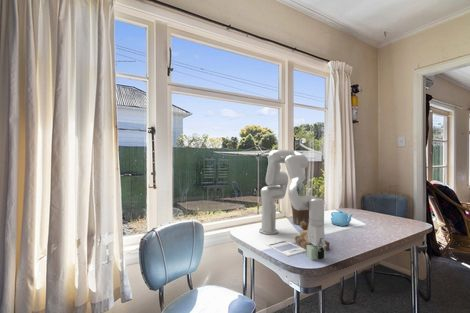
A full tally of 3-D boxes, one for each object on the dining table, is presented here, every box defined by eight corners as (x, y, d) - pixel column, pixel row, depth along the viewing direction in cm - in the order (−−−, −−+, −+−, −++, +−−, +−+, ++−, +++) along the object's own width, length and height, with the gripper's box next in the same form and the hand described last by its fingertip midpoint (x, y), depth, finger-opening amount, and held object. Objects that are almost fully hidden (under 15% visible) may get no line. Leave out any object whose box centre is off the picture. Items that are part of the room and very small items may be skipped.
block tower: (295, 242, 151) (295, 229, 151) (316, 241, 154) (316, 228, 154) (306, 251, 137) (306, 237, 137) (329, 249, 140) (329, 235, 140)
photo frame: (287, 255, 130) (266, 244, 146) (287, 257, 130) (266, 246, 146) (307, 249, 138) (285, 240, 153) (307, 251, 138) (285, 241, 153)
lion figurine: (299, 235, 165) (299, 222, 164) (300, 233, 170) (300, 220, 169) (322, 238, 159) (323, 224, 159) (323, 235, 164) (323, 222, 164)
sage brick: (306, 256, 131) (306, 244, 131) (320, 255, 133) (320, 243, 133) (311, 260, 126) (311, 248, 126) (325, 259, 128) (325, 247, 128)
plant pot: (309, 228, 182) (309, 206, 182) (287, 224, 190) (287, 203, 190) (313, 222, 196) (314, 202, 196) (293, 219, 204) (294, 200, 204)
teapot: (349, 214, 180) (326, 209, 194) (348, 229, 180) (326, 223, 195) (357, 212, 188) (335, 208, 202) (357, 226, 188) (335, 221, 202)
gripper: (301, 218, 137) (301, 249, 137) (318, 227, 120) (318, 262, 120) (314, 217, 139) (313, 248, 139) (332, 226, 122) (332, 261, 122)
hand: (315, 255), depth 130 cm, fingers open, 8 cm apart
